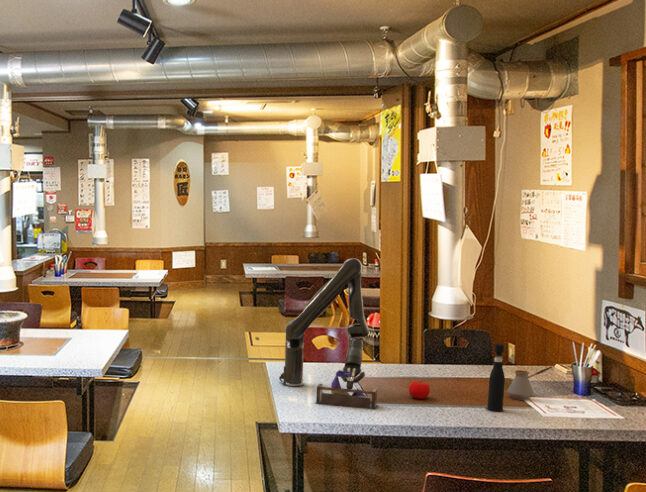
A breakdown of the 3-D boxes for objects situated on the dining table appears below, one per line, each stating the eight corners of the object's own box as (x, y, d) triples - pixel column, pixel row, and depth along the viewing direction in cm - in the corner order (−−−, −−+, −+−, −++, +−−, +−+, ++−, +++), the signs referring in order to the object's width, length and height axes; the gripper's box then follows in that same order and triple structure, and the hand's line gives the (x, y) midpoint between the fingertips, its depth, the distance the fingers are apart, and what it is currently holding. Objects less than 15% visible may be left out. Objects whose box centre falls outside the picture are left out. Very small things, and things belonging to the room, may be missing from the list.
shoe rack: (316, 403, 352) (316, 386, 351) (319, 399, 358) (319, 383, 357) (374, 409, 342) (375, 392, 341) (376, 405, 349) (377, 388, 347)
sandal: (374, 404, 350) (376, 373, 347) (331, 404, 350) (332, 373, 347) (370, 399, 358) (371, 369, 355) (328, 400, 358) (329, 369, 355)
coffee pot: (515, 401, 354) (517, 370, 351) (502, 395, 365) (504, 365, 362) (557, 400, 356) (560, 369, 354) (543, 393, 367) (545, 363, 365)
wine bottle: (484, 407, 343) (488, 343, 338) (498, 407, 344) (502, 343, 339) (491, 411, 337) (496, 346, 332) (505, 411, 338) (510, 345, 333)
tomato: (404, 397, 361) (405, 380, 360) (417, 394, 367) (418, 377, 366) (421, 401, 354) (422, 384, 353) (434, 398, 360) (435, 381, 359)
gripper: (339, 353, 365) (334, 383, 355) (367, 355, 360) (363, 386, 351) (340, 361, 370) (335, 392, 361) (368, 363, 366) (364, 394, 356)
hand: (349, 389), depth 356 cm, fingers closed
